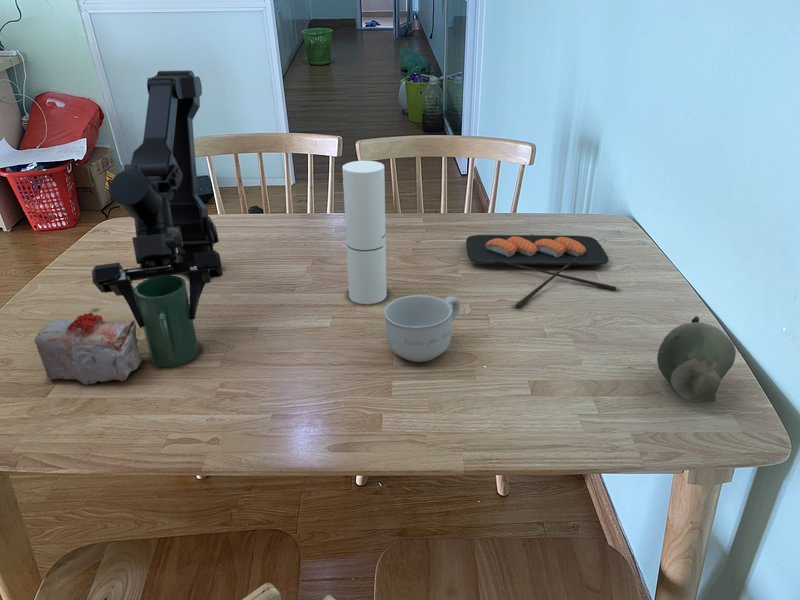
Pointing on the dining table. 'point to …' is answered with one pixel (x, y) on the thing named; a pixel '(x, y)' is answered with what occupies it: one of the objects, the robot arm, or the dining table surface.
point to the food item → (88, 349)
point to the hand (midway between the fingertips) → (167, 323)
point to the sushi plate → (537, 253)
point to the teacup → (420, 326)
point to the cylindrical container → (365, 230)
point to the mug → (167, 320)
